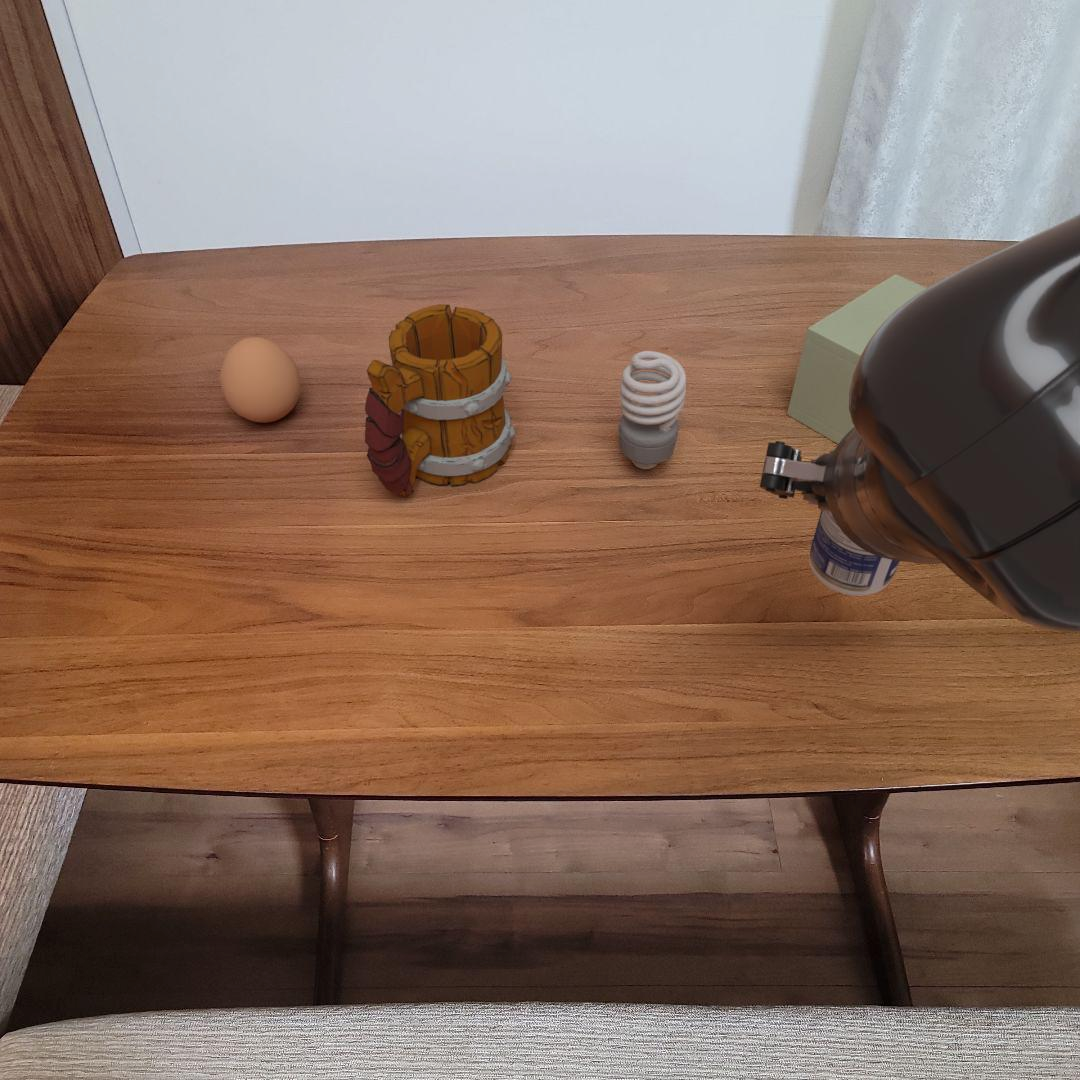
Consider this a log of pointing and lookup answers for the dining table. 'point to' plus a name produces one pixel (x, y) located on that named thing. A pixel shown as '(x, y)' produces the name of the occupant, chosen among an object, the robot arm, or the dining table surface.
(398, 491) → the mug
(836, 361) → the shelf
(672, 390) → the light bulb
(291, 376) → the egg
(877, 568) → the pill bottle
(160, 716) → the dining table surface
